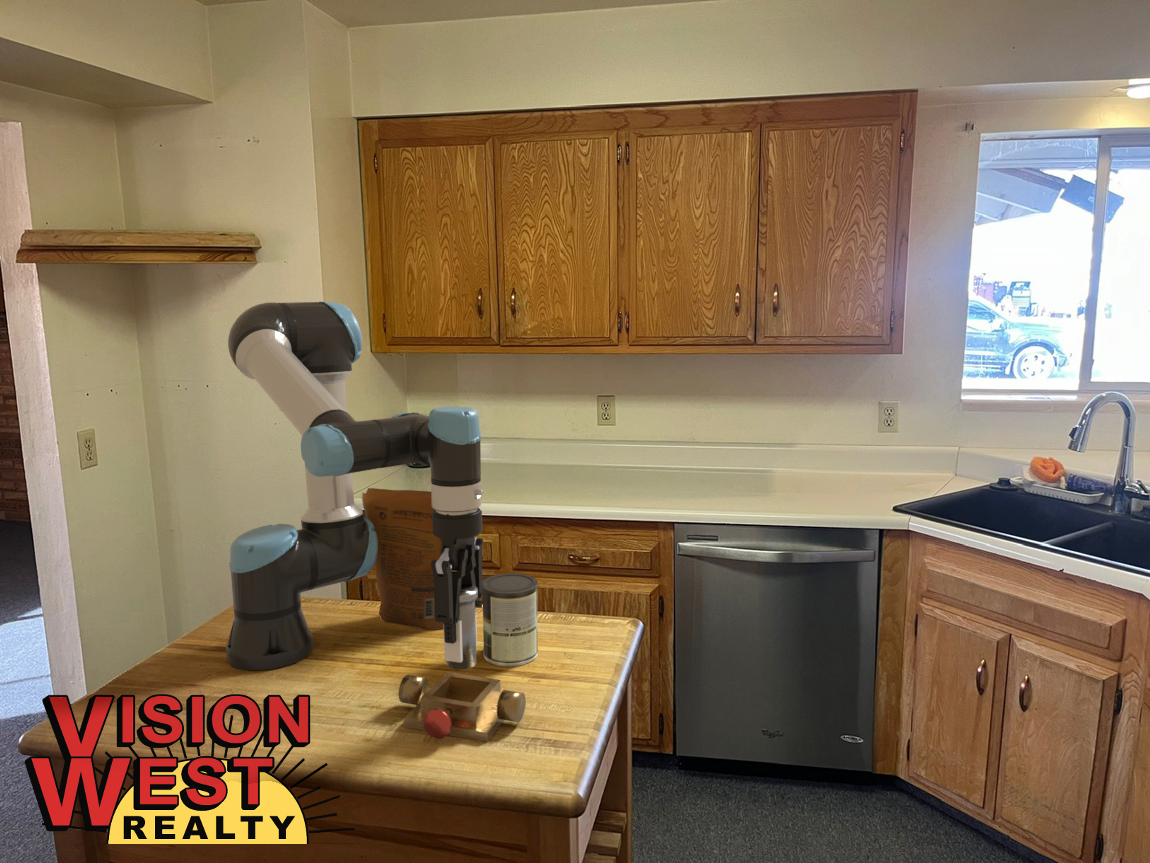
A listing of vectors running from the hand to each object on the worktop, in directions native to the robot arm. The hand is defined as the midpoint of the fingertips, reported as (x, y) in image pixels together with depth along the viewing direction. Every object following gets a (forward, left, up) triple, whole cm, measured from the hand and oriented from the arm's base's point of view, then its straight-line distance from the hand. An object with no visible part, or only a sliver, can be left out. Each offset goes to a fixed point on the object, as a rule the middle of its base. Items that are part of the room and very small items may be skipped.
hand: (461, 653), depth 127 cm
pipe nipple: (0, 0, -2) cm, 2 cm away
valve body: (0, -1, -11) cm, 11 cm away
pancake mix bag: (-26, +30, -11) cm, 41 cm away
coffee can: (-1, +23, -11) cm, 25 cm away
